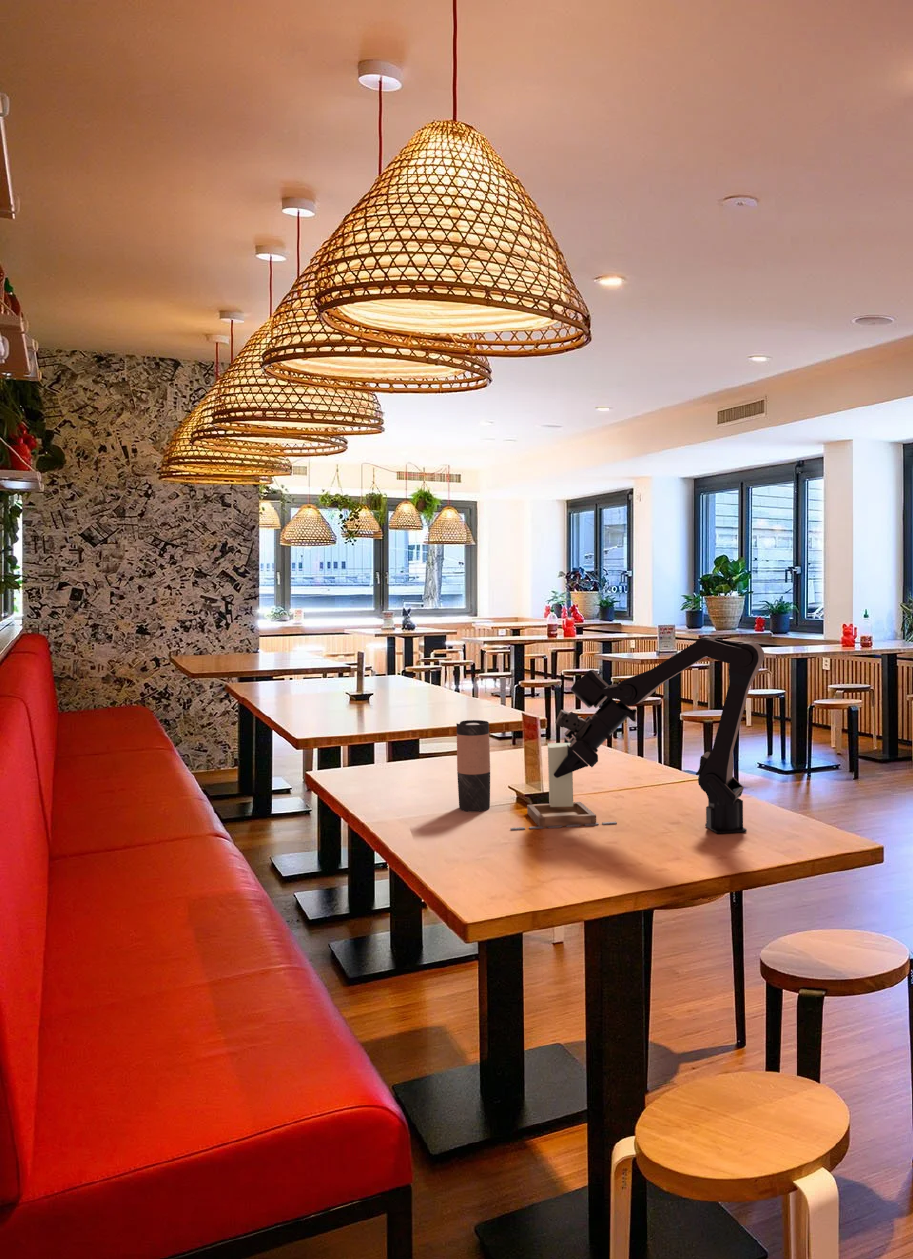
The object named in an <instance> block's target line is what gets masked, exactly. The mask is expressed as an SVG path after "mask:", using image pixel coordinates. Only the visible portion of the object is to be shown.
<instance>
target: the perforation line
mask: <svg viewBox="0 0 913 1259" xmlns="http://www.w3.org/2000/svg"><path fill="white" fill-rule="evenodd" d="M599 824H600V823H598V822H596V823H588V824H584V825H583V826H584V827H587V826H588V827H590V826H599ZM601 824H602V825H603V826H604V825H605V826H606V825H607V826H610V825H617V824H618V822H616V821H607V822H601ZM562 827H563V826H562V825H555V826H548V827H547V828H548V829H557V828H562ZM565 827H566V828H571V827H572V828H573V827H576V828H577V827H581V825H580V824H571V825H566V826H565ZM528 829H529V830H537V829H538V830H539V829H544V827H543V826H538V825H536V826H529V827H528ZM520 830H521V831H523V830H526V827H524V826H522V827H510V831H520Z"/></svg>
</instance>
